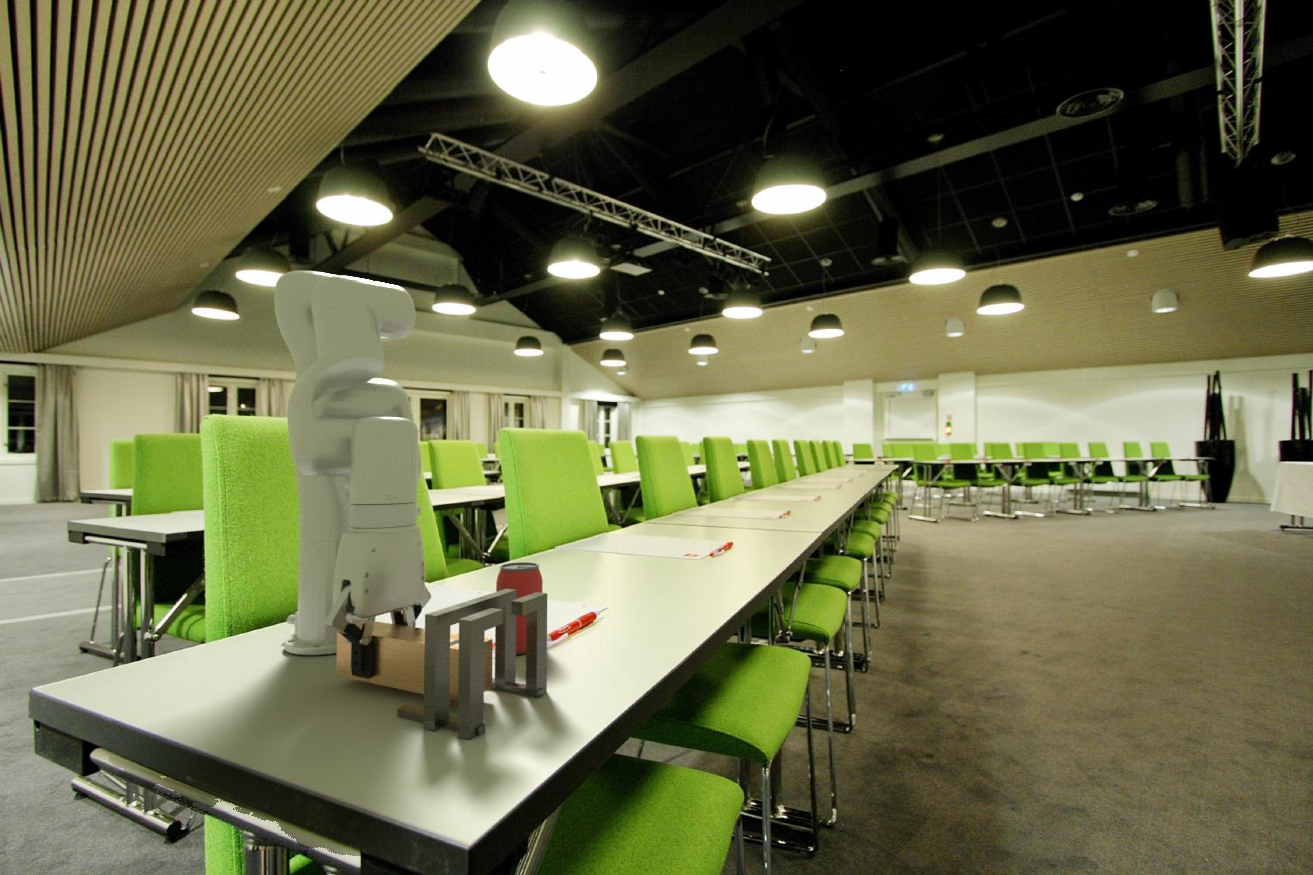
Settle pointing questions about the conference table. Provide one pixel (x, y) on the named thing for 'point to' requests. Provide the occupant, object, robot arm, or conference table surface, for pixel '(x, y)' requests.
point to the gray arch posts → (480, 658)
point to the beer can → (520, 591)
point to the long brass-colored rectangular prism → (406, 658)
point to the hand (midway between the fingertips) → (381, 667)
